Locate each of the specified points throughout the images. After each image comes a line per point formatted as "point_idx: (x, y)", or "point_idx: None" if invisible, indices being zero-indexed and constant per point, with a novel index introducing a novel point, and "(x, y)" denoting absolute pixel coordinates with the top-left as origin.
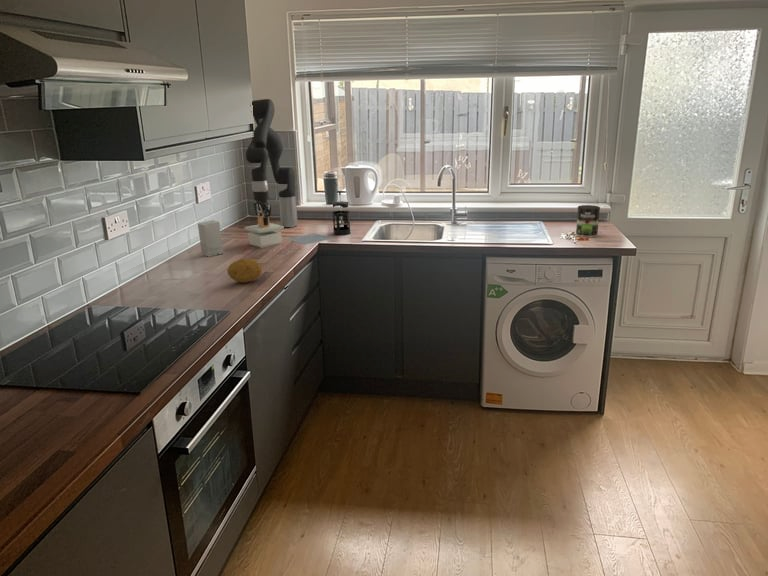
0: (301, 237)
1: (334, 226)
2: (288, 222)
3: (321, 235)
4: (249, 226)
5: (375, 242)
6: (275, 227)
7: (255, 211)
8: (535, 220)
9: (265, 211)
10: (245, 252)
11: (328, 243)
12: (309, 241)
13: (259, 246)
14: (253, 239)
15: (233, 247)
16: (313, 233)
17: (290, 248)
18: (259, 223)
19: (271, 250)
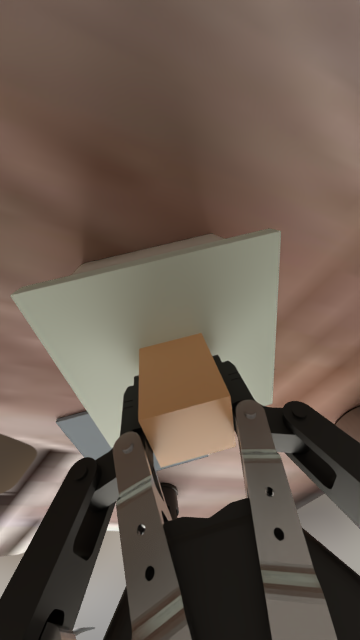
0: None
1: (173, 512)
2: (356, 432)
3: (165, 466)
4: (263, 275)
5: (12, 535)
6: (96, 413)
7: (334, 436)
8: (81, 628)
9: (44, 565)
10: (4, 132)
11: (54, 469)
12: (98, 437)
13: (98, 261)
14: (162, 253)
15: (210, 109)
16: (207, 455)
17: (21, 373)
18: (186, 356)
19: (7, 297)
